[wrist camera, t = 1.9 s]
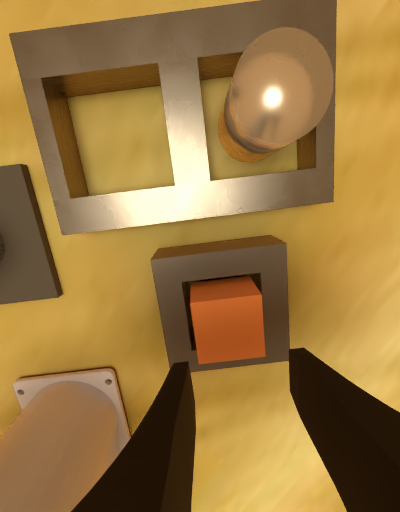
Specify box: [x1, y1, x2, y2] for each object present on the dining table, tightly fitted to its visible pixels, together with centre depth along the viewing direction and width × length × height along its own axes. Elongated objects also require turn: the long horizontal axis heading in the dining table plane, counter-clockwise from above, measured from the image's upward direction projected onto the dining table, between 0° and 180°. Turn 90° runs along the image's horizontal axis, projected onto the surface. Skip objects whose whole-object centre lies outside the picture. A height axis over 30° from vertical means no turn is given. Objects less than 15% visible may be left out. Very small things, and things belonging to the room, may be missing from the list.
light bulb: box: [218, 27, 334, 162], centre depth 12 cm, size 4×4×6 cm
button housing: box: [151, 235, 290, 372], centre depth 17 cm, size 8×8×3 cm
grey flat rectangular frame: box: [9, 0, 337, 235], centre depth 14 cm, size 10×16×2 cm, turn 97°
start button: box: [190, 276, 266, 364], centre depth 15 cm, size 4×4×3 cm
